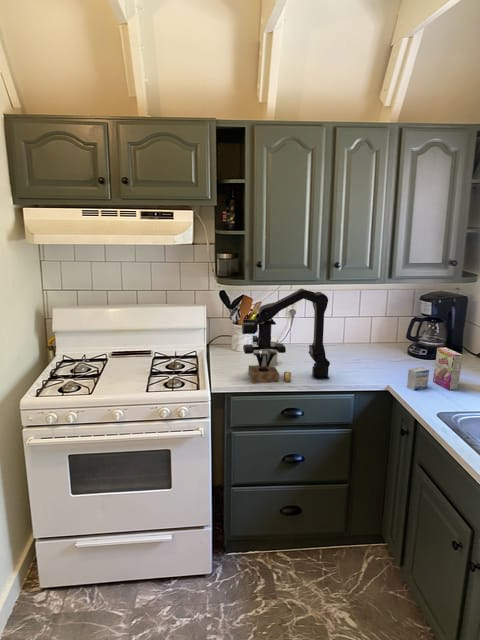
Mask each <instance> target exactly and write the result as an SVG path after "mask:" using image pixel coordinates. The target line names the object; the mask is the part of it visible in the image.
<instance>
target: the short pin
mask: <svg viewBox="0 0 480 640" xmlns="http://www.w3.org/2000/svg"><path fill="white" fill-rule="evenodd" d="M291 378H292V372H291V371H284V372H283V382H284V383H291V382H292V381H291Z"/></svg>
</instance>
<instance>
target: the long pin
mask: <svg viewBox="0 0 480 640" xmlns="http://www.w3.org/2000/svg"><path fill="white" fill-rule="evenodd" d="M260 357H261V367H260V371H267V358H268V354H267V353H262V352H260Z"/></svg>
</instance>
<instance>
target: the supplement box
mask: <svg viewBox="0 0 480 640" xmlns="http://www.w3.org/2000/svg"><path fill="white" fill-rule="evenodd" d="M275 344H279V337H272V336H271V346H275ZM261 353H267V354H268V350H267V351H261ZM276 353H277V354H276V355H274V357H273V358H272V360H271V362H270V364H269V365H274V366H275V367H276V365H277V362H278V353H279V352H278V351H277V350H276Z"/></svg>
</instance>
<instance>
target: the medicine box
mask: <svg viewBox="0 0 480 640" xmlns="http://www.w3.org/2000/svg"><path fill="white" fill-rule="evenodd" d="M429 375H430V370H429V369H428V368H425V367H423V366H422V367H415V368H409V369H408V373H407V382H406V388H408V387H409V388H408V389H410V388H411V390H412V389H413V390H412V391H416V390H415V389H419V390H422V389H421V388H424V389H427V388H428V385H429Z"/></svg>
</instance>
